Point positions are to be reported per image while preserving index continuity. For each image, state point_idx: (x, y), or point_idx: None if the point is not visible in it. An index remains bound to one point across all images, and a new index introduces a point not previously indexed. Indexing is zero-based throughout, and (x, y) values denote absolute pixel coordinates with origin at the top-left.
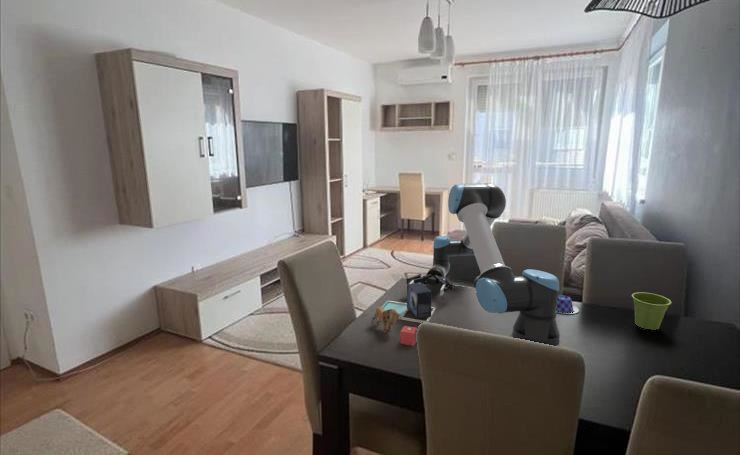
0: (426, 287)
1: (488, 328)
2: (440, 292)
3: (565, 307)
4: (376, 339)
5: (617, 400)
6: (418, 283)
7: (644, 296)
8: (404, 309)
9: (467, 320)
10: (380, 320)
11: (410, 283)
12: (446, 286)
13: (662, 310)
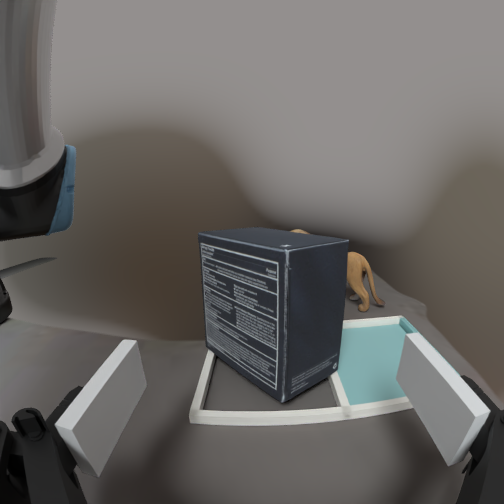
0: (228, 236)
1: (35, 335)
2: (140, 363)
3: None
4: None
5: (15, 267)
6: (290, 243)
7: None
8: (347, 374)
9: (68, 362)
10: (359, 305)
11: (431, 355)
12: (55, 426)
13: None
